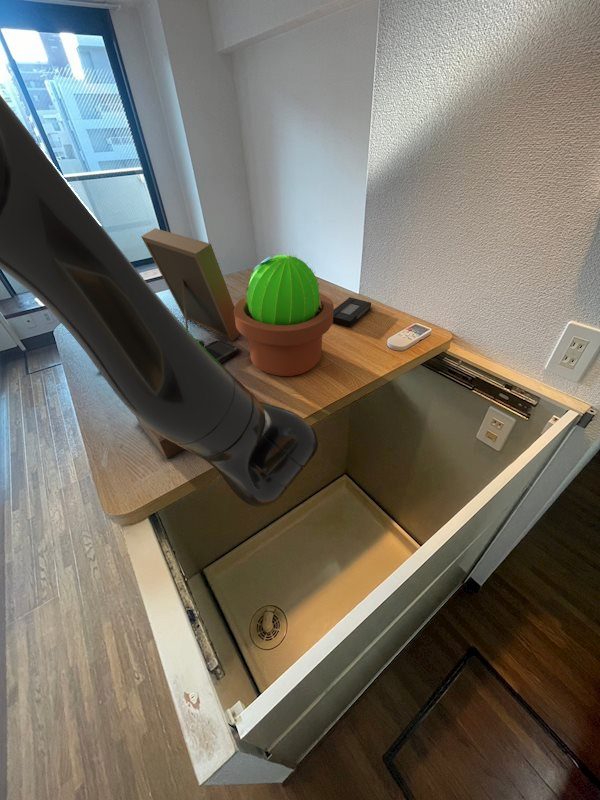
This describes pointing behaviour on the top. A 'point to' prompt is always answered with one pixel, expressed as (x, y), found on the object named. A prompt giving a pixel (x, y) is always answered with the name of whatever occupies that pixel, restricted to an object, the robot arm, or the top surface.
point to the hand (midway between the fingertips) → (140, 340)
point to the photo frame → (194, 280)
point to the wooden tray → (161, 442)
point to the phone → (221, 350)
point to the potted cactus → (284, 316)
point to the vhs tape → (350, 311)
